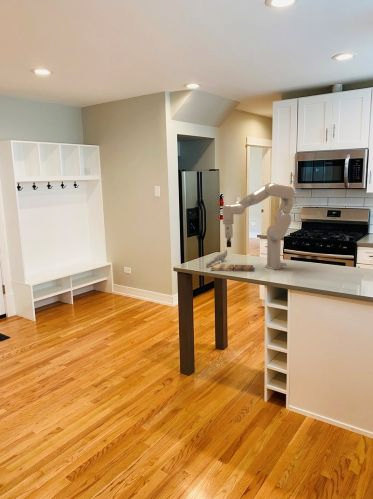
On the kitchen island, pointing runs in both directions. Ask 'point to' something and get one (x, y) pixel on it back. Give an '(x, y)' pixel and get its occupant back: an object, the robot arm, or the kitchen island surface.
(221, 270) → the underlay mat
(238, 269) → the walnut plank
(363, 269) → the kitchen island surface
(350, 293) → the kitchen island surface
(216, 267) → the beige irregular flat piece
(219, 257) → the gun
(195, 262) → the kitchen island surface
